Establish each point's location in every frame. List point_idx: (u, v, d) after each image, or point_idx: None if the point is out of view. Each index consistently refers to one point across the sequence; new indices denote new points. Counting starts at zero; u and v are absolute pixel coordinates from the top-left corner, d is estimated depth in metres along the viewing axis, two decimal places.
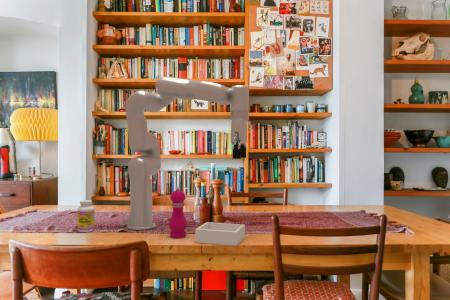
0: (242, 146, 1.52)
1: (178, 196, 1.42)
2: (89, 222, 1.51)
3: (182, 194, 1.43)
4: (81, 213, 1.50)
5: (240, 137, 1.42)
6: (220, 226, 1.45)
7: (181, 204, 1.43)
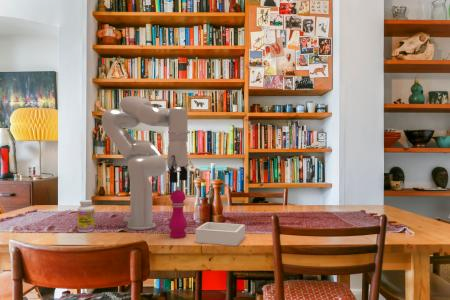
0: (183, 168, 1.49)
1: (178, 196, 1.42)
2: (89, 222, 1.51)
3: (182, 194, 1.43)
4: (81, 213, 1.50)
5: (176, 160, 1.39)
6: (220, 226, 1.45)
7: (181, 204, 1.43)
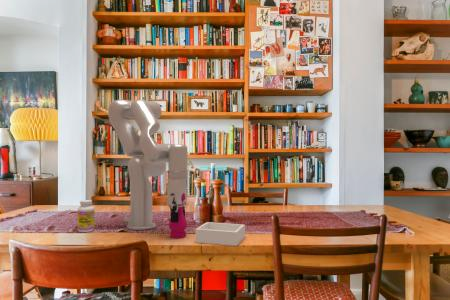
0: None
1: None
2: (89, 222, 1.51)
3: (182, 194, 1.43)
4: (81, 213, 1.50)
5: (176, 201, 1.40)
6: (220, 226, 1.45)
7: (181, 204, 1.43)
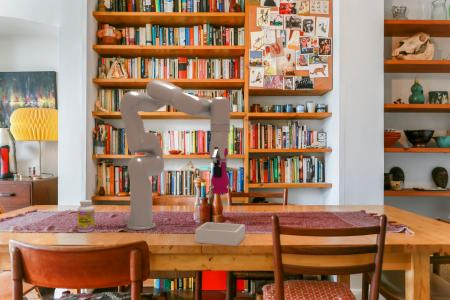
0: None
1: None
2: (89, 222, 1.51)
3: (225, 148, 1.37)
4: (81, 213, 1.50)
5: (220, 155, 1.34)
6: (220, 226, 1.45)
7: (224, 159, 1.38)
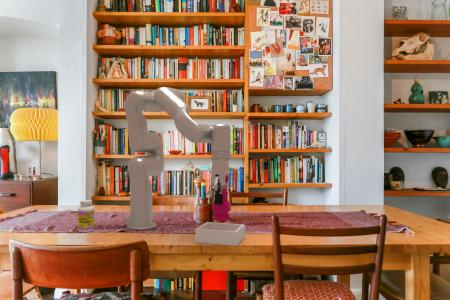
0: None
1: None
2: (89, 222, 1.51)
3: (226, 175, 1.37)
4: (81, 213, 1.50)
5: (221, 182, 1.34)
6: (220, 226, 1.45)
7: (225, 186, 1.38)
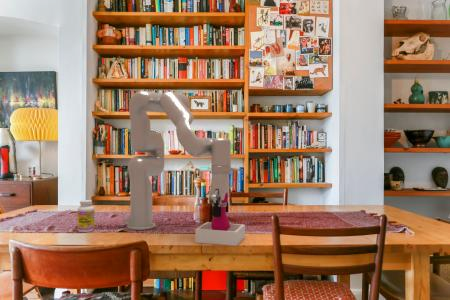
0: None
1: None
2: (89, 222, 1.51)
3: None
4: (81, 213, 1.50)
5: (221, 194, 1.34)
6: None
7: (224, 204, 1.38)
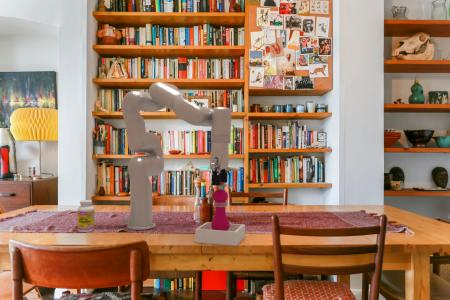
0: (223, 170, 1.44)
1: (222, 195, 1.37)
2: (89, 222, 1.51)
3: (225, 193, 1.38)
4: (81, 213, 1.50)
5: (220, 163, 1.34)
6: None
7: (224, 204, 1.38)
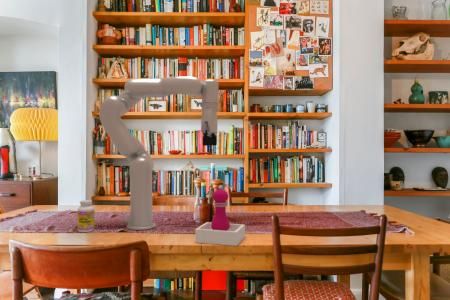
0: (213, 135, 1.68)
1: (222, 195, 1.37)
2: (89, 222, 1.51)
3: (225, 193, 1.38)
4: (81, 213, 1.50)
5: (209, 126, 1.58)
6: None
7: (224, 204, 1.38)
